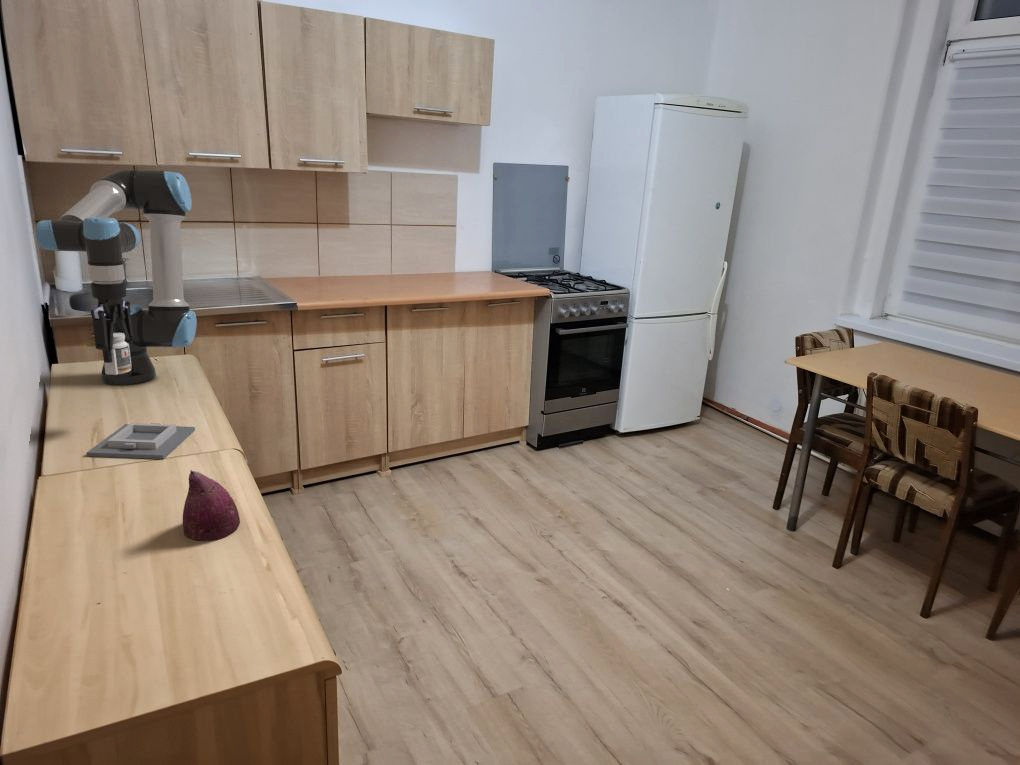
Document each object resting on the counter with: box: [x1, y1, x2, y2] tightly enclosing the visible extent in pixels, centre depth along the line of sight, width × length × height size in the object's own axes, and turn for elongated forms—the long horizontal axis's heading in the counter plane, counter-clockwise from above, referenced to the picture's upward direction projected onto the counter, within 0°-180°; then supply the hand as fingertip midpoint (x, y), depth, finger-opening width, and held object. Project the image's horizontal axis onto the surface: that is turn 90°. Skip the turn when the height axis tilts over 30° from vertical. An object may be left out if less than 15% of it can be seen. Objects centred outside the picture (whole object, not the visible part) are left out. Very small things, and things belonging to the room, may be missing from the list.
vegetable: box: [182, 469, 241, 542], centre depth 129 cm, size 10×10×15 cm
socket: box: [86, 422, 196, 460], centre depth 167 cm, size 18×18×3 cm
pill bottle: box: [113, 333, 131, 374], centre depth 170 cm, size 6×6×10 cm
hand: (118, 370), depth 171 cm, fingers closed on pill bottle, 6 cm apart
